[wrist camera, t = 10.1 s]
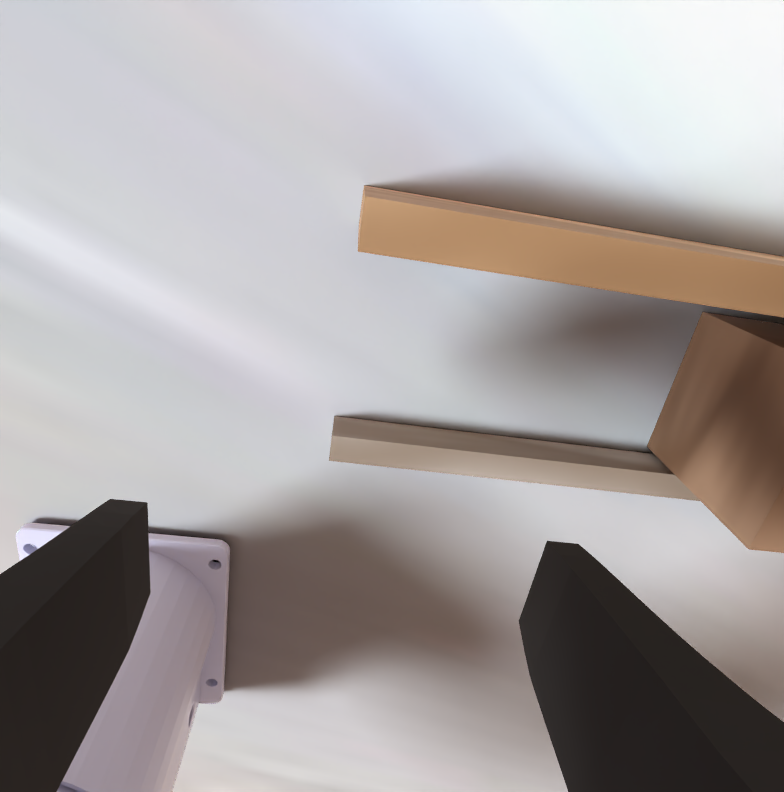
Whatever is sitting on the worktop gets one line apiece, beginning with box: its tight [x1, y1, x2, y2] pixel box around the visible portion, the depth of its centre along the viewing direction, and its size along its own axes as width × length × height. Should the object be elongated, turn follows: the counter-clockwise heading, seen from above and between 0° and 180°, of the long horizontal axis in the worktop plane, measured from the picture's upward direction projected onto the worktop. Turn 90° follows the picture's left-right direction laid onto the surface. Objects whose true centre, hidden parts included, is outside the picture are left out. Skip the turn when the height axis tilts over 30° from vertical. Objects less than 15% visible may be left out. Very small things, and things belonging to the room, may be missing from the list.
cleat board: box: [329, 185, 784, 501], centre depth 17 cm, size 9×19×5 cm, turn 81°
